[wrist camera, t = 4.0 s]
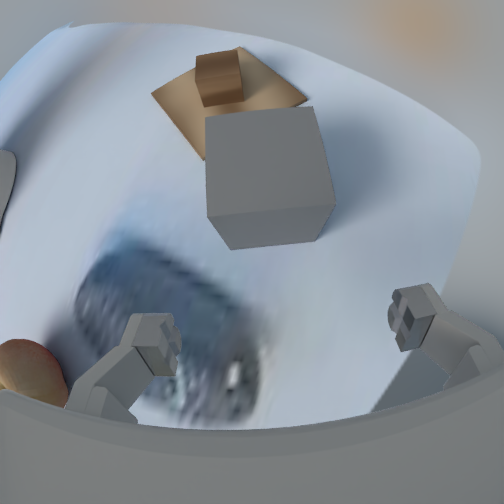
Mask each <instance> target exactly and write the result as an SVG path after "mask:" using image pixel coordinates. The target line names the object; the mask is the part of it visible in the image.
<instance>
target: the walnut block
mask: <svg viewBox="0 0 504 504" xmlns="http://www.w3.org/2000/svg"><path fill="white" fill-rule="evenodd" d="M195 83H196V86H197V89H198V92H199V94H200V97H201V100H202V103H203V106H204V108H205V107H210V106H217V105H223V104H230V103H238V102H244V95H243V86H242V77H241V70H240V64H239V57H238V51H237V50H229V51H222V52H216V53H210V54H204V55H199V56H196V68H195Z"/></svg>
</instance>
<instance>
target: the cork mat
mask: <svg viewBox="0 0 504 504" xmlns="http://www.w3.org/2000/svg"><path fill="white" fill-rule="evenodd" d="M233 50H237V51H238V57H239V64H240V70H241V77H242V86H243V95H244V102H238V103H230V104H223V105H217V106H210V107H205V108H204V106H203V103H202V100H201V97H200V94H199V92H198V89H197V86H196V83H195V68H196V67H195V68H193V69H191V70H190V71H188V72H186V73H184V74H182V75H180V76H179V77H177V78H175V79H173V80H172V81H170V82H168V83H167V84H165V85H163V86H162V87H160V88H158V89H157V90H155V91H154V92H152V93H151V94H152V96H153V97H154V98H155V100H156V101H157V102H158V103H159V105H160V106H161V107H162V109H163V110H164V111H165V112H166V114H167V115H168V116H169V117H170V119H171V120H172V121H173V123H174V124H175V125H176V126H177V128H178V129H179V130H180V132H181V133H182V134H183V135H184V137H185V138H186V139H187V141H188V142H189V143H190V144H191V146H192V147H193V148H194V150H195V151H196V152H197V154H198V155H199V156H200V157H201V159H202V160H203V161H204V160H205V117H210V116H216V115H222V114H229V113H237V112H245V111H254V110H264V109H276V108H290V107H296V106H298V105H300V104H302V103H304V102H306V101H307V98H306V97H305V96H304V95H303V94H302V93H300V92H299V91H298V90H297V89H296V88H294V87H293V86H292V85H291V84H290V83H288V82H287V81H286V80H285V79H283V78H282V77H281V76H280V75H278V74H277V73H276V72H274V71H273V70H272V69H271V68H269V67H268V66H267V65H265V64H264V63H262V62H261V61H260V60H258V59H257V58H256V57H254V56H253V55H251V54H250V53H248V52H247V51H246V50H244V49H243V48H241V47H237V48H235V49H233Z"/></svg>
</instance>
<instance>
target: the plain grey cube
mask: <svg viewBox="0 0 504 504" xmlns="http://www.w3.org/2000/svg"><path fill="white" fill-rule="evenodd" d="M205 163H206V199H207V218H208V219H209V220H210V222H211V223H212V225H213V226H214V228H215V229H216V230H217V232H218V233H219V235H220V236H221V237H222V239H223V240H224V242H225V243H226V245H227V246H228V247H229V249H230V250H236V249H246V248H255V247H265V246H275V245H284V244H294V243H304V242H314V241H315V240H316V238H317V237H318V235H319V233H320V231H321V230H322V228H323V226H324V225H325V223H326V221H327V219H328V218H329V216H330V214H331V212H332V211H333V209H334V207H335V205H336V200H335V195H334V190H333V186H332V181H331V176H330V172H329V167H328V163H327V159H326V155H325V151H324V146H323V142H322V139H321V135H320V131H319V127H318V123H317V120H316V116H315V113H314V109H313V106H312V107H290V108H276V109H264V110H254V111H245V112H237V113H229V114H222V115H216V116H210V117H205Z"/></svg>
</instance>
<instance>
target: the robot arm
mask: <svg viewBox="0 0 504 504" xmlns="http://www.w3.org/2000/svg"><path fill="white" fill-rule="evenodd" d="M15 172H16V159H15V155H14V154H13V153H12V152H10V151H5V150H1V149H0V224H1V219H2V216H3V213H4V210H5V207H6V205H7V202H8V199H9V196H10V193H11V190H12V186H13V183H14V178H15ZM392 299H393V301H394V302H393V303H392V304H391V305H390V306H389V310H388V322H389V326H390V328H391V330H392V331H394V332H395V333H397V335H396V338H395V340H396V342H397V344H398V346H399V349H400V351H401V352H404V351H408V350H412V349H416V348H420V350H421V351H423V352H424V353H425V354H426V355H427V356H428V357H430V358H431V359H432V360H433V361H434V362H435V363H436V364H438V365H439V366H440V367H441V368H442V369H443V370H444V371H446V372H447V373H448V374H449V375H450V377H449V378H448V380H447V381H446V382H445V384H444V386H443V389H444V391H441V392H438V393H436V394H433V395H430V396H427V397H424V398H421V399H418V400H415V401H413V402H409V403H406V404H403V405H399V406H396V407H392V408H389V409H385V410H381V411H377V412H373V413H369V414H365V415H360V416H355V417H351V418H346V419H340V420H335V421H329V422H323V423H316V424H309V425H301V426H292V427H282V428H270V429H252V430H197V429H180V428H168V427H158V426H149V425H141V424H137V423H138V420H137V419H136V417H135V416H134V415H133V414H131V413H130V412H129V411H128V409H129V408H130V407H131V406H132V405H133V403H134V402H135V401H136V400H137V398H138V397H139V396H140V395H141V394H142V392H143V391H144V390H145V389H146V387H147V386H148V385H149V384H150V383H151V381H152V380H153V379H154V378H155V377H154V376H176V370H177V365H178V361H177V359H176V356H177V355H178V354H179V353H180V350H181V336H180V332H179V330H178V328H177V327H175V326H174V325H173V324H174V318H173V316H172V314H170V313H145V314H132V315H131V317H130V319H129V321H128V324H127V326H126V329H125V331H124V334H123V337H122V339H121V342H120V344H119V346H115V347H114V348H113V349H112V350H110V351H109V352H108V353H107V354H106V355H105V356H104V357H102V358H101V359H100V360H99V361H98V362H97V363H95V364H94V365H93V366H92V367H91V368H90V369H89V370H87V371H86V372H85V373H84V374H83V375H82V376H81V377H79V378H78V379H77V380H76V381H75V383H74V385H73V388H72V390H71V393H70V396H69V399H68V401H67V404H66V407H65V409H64V408H61V407H57V406H54V405H51V404H48V403H45V402H42V401H39V400H36V399H33V398H30V397H27V396H25V395H22V394H19V393H17V392H15V391H12V390H9V389H2V390H0V504H504V351H503V349H502V348H501V346H500V344H499V343H498V341H497V339H496V338H495V336H493V335H492V334H490V333H488V332H487V331H485V330H483V329H482V328H480V327H479V326H477V325H475V324H473V323H472V322H470V321H469V320H467V319H465V318H463V317H462V316H460V315H459V314H457V313H455V312H453V311H448V309H447V308H446V306H445V305H444V303H443V302H442V300H441V298H440V297H439V295H438V294H437V292H436V291H435V290H434V288H433V287H432V285H431V284H429V283H426V284H421V285H417V286H411V287H406V288H400V289H395V291H394V292H393V295H392Z"/></svg>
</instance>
